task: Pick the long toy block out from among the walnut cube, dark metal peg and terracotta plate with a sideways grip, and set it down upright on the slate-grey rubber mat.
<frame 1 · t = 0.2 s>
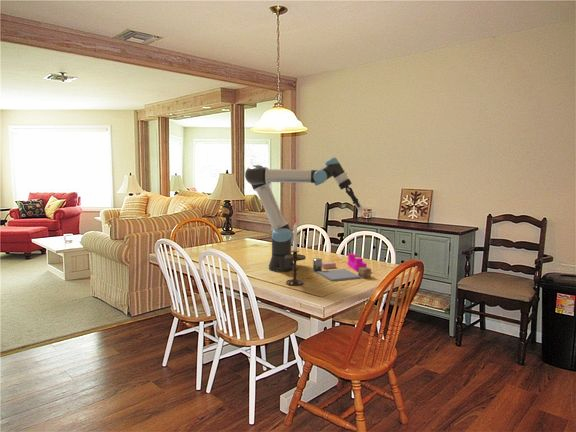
hand: (361, 211, 252), 34 cm above the table, tool tilted 35°, fingers open, 13 cm apart
walnut cube: (364, 277, 232), on the table
toy block: (356, 268, 252), on the table
metal peg: (317, 270, 244), on the table
slate mat: (338, 275, 234), on the table
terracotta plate: (327, 267, 254), on the table
candlestick: (294, 283, 217), on the table
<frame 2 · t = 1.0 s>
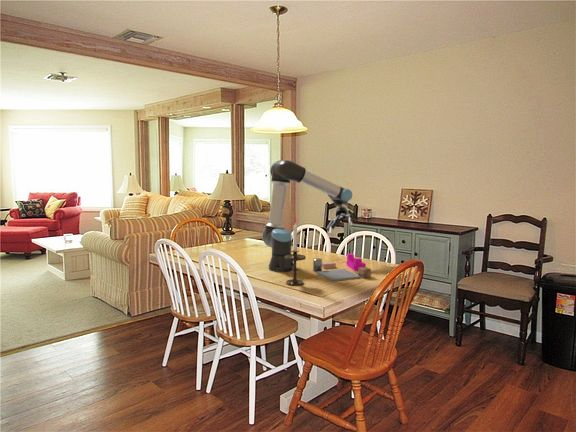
hand: (340, 229, 248), 24 cm above the table, tool tilted 65°, fingers open, 13 cm apart
nothing on the table moved.
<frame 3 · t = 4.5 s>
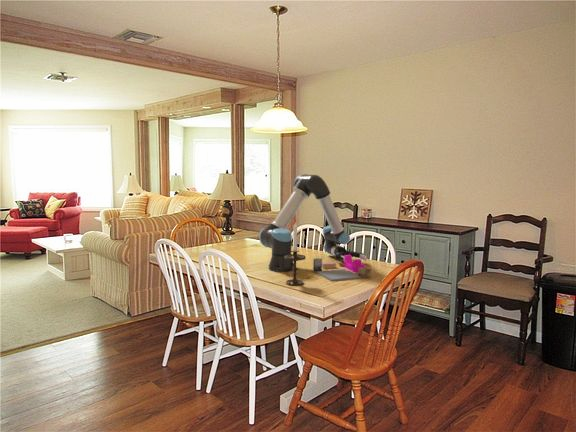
hand: (356, 259, 255), 5 cm above the table, tool horizontal, fingers open, 13 cm apart
toy block: (354, 270, 248), on the table, touching gripper
everything else where it was.
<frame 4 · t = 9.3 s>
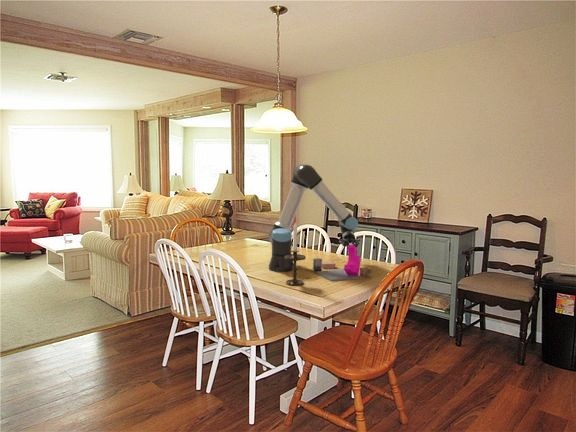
hand: (351, 248, 233), 15 cm above the table, tool horizontal, fingers closed
toy block: (354, 263, 234), point 7 cm above the table, touching gripper, slate mat
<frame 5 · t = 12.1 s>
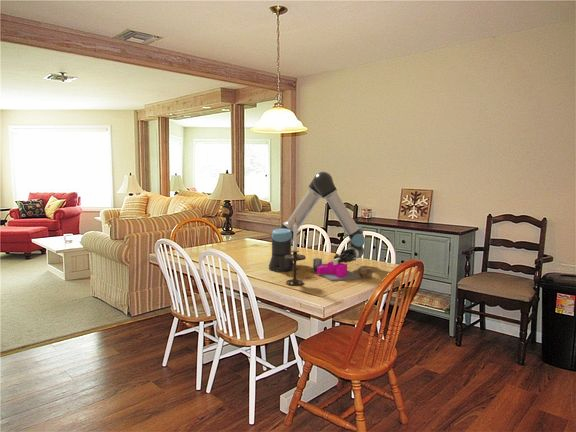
hand: (334, 262, 228), 9 cm above the table, tool horizontal, fingers closed
toy block: (335, 267, 235), point 4 cm above the table, touching gripper, slate mat
everything else where it was.
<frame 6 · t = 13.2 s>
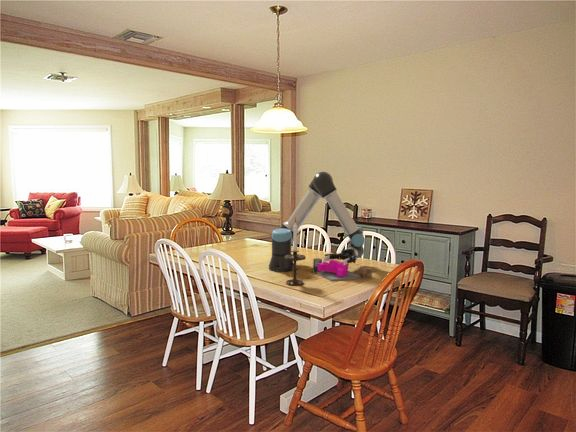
hand: (334, 261, 230), 9 cm above the table, tool horizontal, fingers closed on toy block, 11 cm apart
toy block: (336, 266, 235), point 5 cm above the table, touching gripper, slate mat
everything else where it was.
when the fingers open (10 cm above the table, at t = 14.4 s): toy block drops 2 cm, resting on slate mat.
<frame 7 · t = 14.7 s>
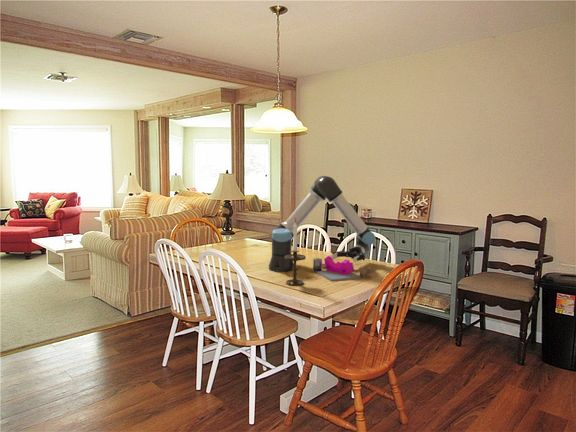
hand: (343, 258, 237), 9 cm above the table, tool horizontal, fingers open, 13 cm apart
toy block: (339, 270, 239), point 2 cm above the table, touching gripper, slate mat
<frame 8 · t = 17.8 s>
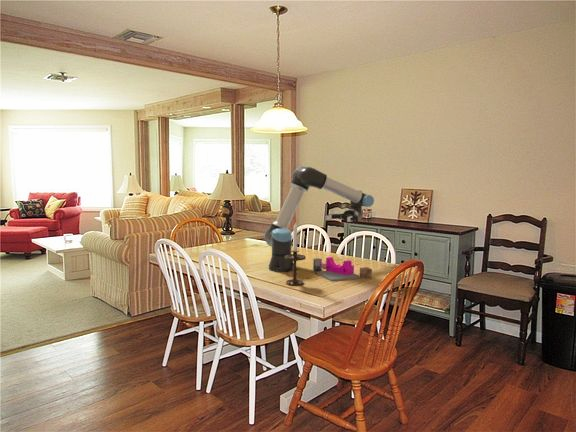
hand: (337, 218, 248), 30 cm above the table, tool horizontal, fingers open, 13 cm apart
toy block: (339, 272, 238), point 1 cm above the table, touching slate mat
at the end: toy block inside the target area on the slate mat (4.9 cm from its centre), point 0.8 cm above the slate mat's base; toy block tilted 0°; the gripper is holding nothing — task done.
